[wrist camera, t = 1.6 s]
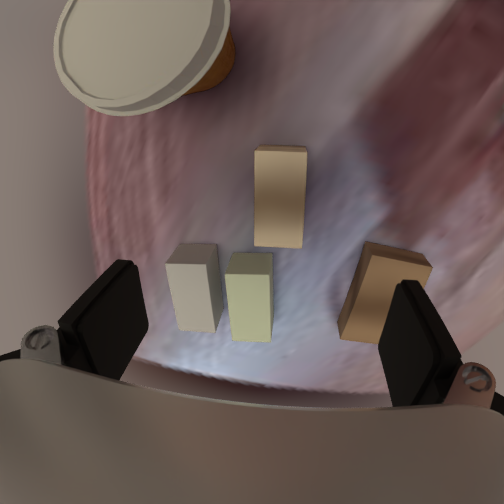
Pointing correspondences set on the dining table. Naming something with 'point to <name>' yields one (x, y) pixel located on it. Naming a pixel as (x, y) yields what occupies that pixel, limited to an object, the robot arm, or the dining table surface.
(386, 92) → the dining table surface
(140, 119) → the dining table surface
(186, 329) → the grey brick
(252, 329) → the sage brick
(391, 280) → the walnut base
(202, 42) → the disposable coffee cup
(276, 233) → the beech brick
